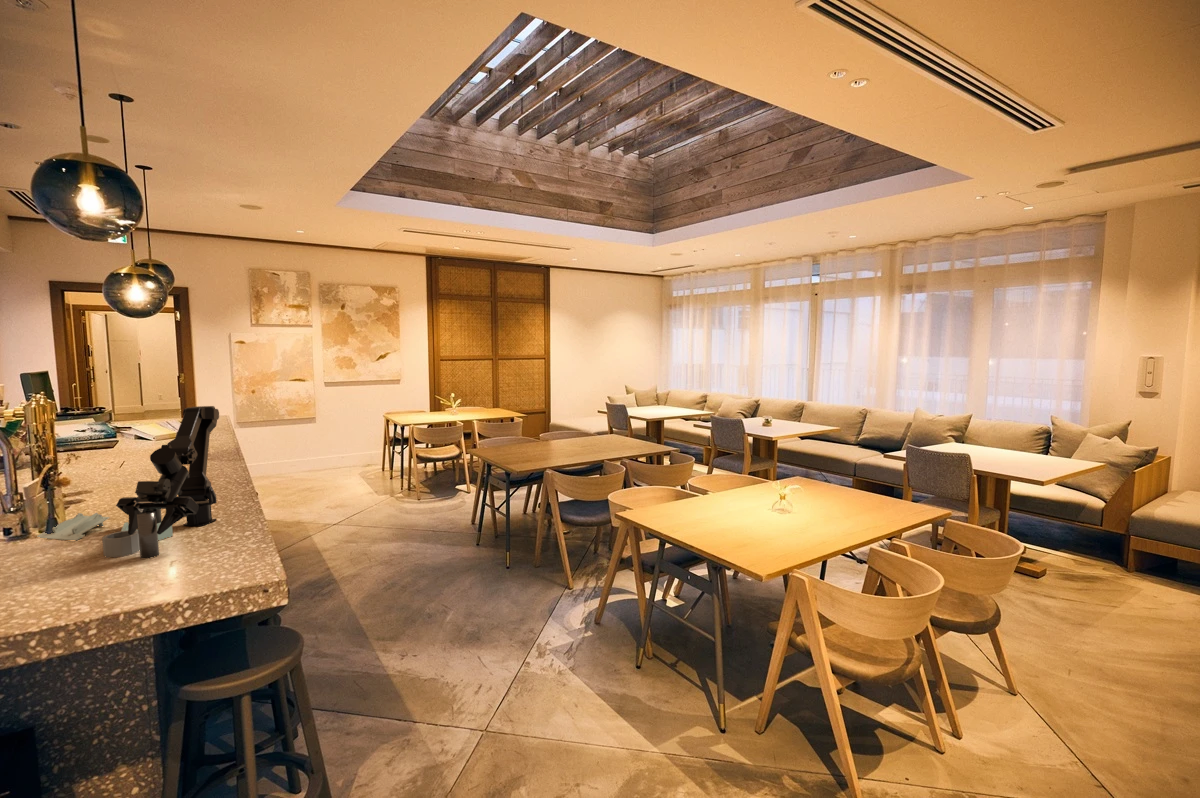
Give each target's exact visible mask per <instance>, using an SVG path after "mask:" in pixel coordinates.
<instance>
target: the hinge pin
mask: <svg viewBox="0 0 1200 798" xmlns="http://www.w3.org/2000/svg"><path fill="white" fill-rule="evenodd" d="M137 522H138V528H137V529H138V534H139V547H140V551H139V556H140V559H141V558H149V559H151V558H150V557H153V558H155V557H154V556H156V557H158V556H160V547H159V541H158V533H157V519H156V511H145V512H140V513H138V514H137ZM157 555H158V556H157Z"/></svg>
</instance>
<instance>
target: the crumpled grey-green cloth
mask: <svg viewBox="0 0 1200 798" xmlns="http://www.w3.org/2000/svg"><path fill="white" fill-rule="evenodd" d="M109 519H110V516H102V514H99V513H98V512H95V513H93V514H91V515H84V514H83V513H81V512H78V513H77V514H76V515H75V516H74V517H73V518H69V519H66V520H63V521H62V522H60V523H58V524H57V526H56V525H55V526H56V527H54V526H53V527H52V531H53V532H54V533H51V534H47V533H45V532H46V531H43V532H42V533H39V534H38V535H36V536H37V537H40V538H47V539H46V540H52V539H59V540H58V541H65V540H77V541H79V540H80V539H81V538H83V537H84V538H85V536H86V534H84V533H87V532H88V531H90V530H91V529H93V528H95V527H97V525H99V526H104V527H105V525H104V522H106V521H107V520H109Z"/></svg>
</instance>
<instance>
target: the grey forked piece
mask: <svg viewBox="0 0 1200 798" xmlns="http://www.w3.org/2000/svg"><path fill="white" fill-rule="evenodd" d="M160 524H161V523H158V524H157V531H158V528H159V526H160ZM128 525H129V521H127V522H124V524H123V526H122V527H121V531H117V532H112V533H109V534H107V535H104V536H103V537H102V538H101V540H102V551H103V557H105V556H106V557H105V558H109V557H114V558H121V557H120V556H122V557H126V556H130V555H129V554H131V555H133V553H134V554H136V553H138V552H137V551H139V550H140V547H139V534H138V528H137V529H136V531H135V532H134V533H133V534H132V535H129V534H128ZM171 536H174V533H173V525H172V526H170V527H169V528H168V529H167V530H165V531H164V532H163V533H162V534H158V540H160V541H162V540H161V539H163V540H165V539H164V538H167V537H170V538H172V537H171ZM167 539H168V538H167ZM135 552H136V553H135ZM139 552H140V551H139ZM125 555H126V556H125Z"/></svg>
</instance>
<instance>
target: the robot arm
mask: <svg viewBox="0 0 1200 798" xmlns="http://www.w3.org/2000/svg"><path fill="white" fill-rule="evenodd" d="M182 415H183V417H182V419H181V423H180V425H179V427H178V430H177V432H176V436H175V438H173V439H172V440H170V441H169V442H167V443H166V444H162V445H161V447H160V448H157V449H156V450H154V451H153V452H152V453H151V454H150V455H149V459H150V462H151V464H152V465H153V467H154V468H155V469H156V471H157V473H158V474H160V477H159V479H158V481H153V480H150V481H149V480H148V481H147V480H145V481H144V480H143V481H142V480H140V481H137V483H136V484H137V485H136V488H135V491H134V494H135V495H137V494H138V493H139V494H143V495H144V496H143V498H145V499H148V502H141V501H140V500H139V499H138V498H137V497H138V496H137V497H136V496H132V497H131V496H130V497H127V496H126V497H125V496H124V497H120V498H119V499H118V501H117V502H116V505H115V507H116V508H118V509H119V510H121V511H122V512H123V513H124V514H126V515H128V534H129V535H132V534H133V533H134V532H135V531H136V530H137V529H138V522H137V514H138V513H140V512H145V510H146V509H161V510H164V509H165V514H164V516H163V518H162V522H161V524H160V526H159V528H158V531H157V533H158V534H162V533H163V532H164V531H165V530H167V529H168V528H169V527H170V526H172V527H173V525H175V524H176V523H177V522H179V521H180V520H182V519H183V518H186V522H185V523H183V524H182V526H183V527H185V526H186V527H204V526H206V525H208V524H210V523H213V522H215V521H217V518H212V517H213V516H212V515H213V514H212V505H214V504H217V494H216V492H215V490H214V488H213V486H212V482H211V481H210V479H209V477H208V476H207V469H208V460H209V459H208V456H209V449H210V448H209V447H210V436H211V433H212V431H213V430H214V429H215V428H216V427H217V424H218V420H219V419H220V410H219V409H218V408H216V407H215V406H214V405H203V406H202V405H201V406H191V407H188V406H187V407H186V408H184V409H183V413H182ZM185 465H187V466H189V467H188V468H187V466H185Z"/></svg>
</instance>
